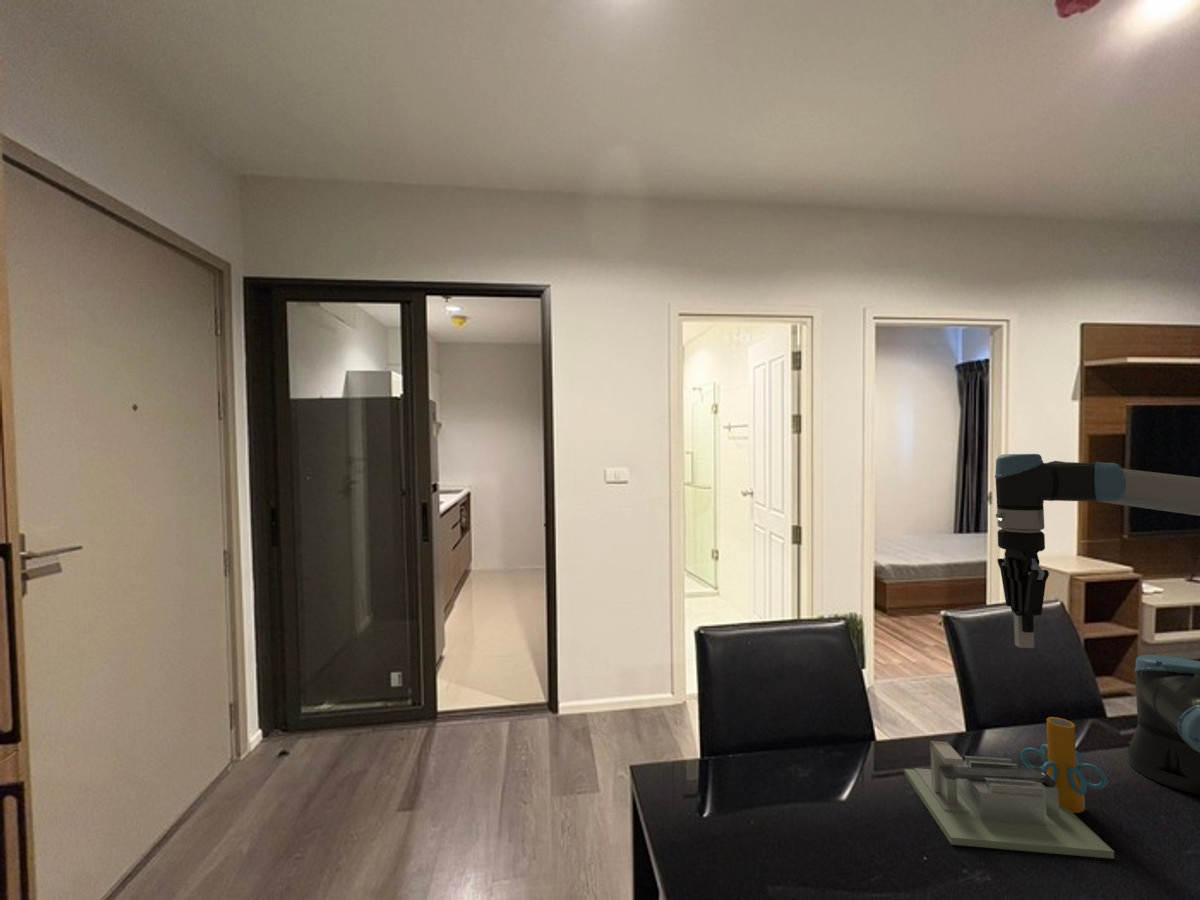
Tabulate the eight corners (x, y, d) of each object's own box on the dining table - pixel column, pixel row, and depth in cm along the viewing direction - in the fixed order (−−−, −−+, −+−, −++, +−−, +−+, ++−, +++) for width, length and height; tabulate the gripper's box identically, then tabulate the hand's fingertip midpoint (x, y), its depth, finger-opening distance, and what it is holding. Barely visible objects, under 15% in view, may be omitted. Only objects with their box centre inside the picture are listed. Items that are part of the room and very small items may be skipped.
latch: (948, 788, 103) (947, 741, 103) (964, 808, 97) (962, 759, 97) (931, 787, 103) (930, 740, 103) (946, 807, 97) (944, 758, 97)
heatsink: (1034, 792, 102) (1033, 759, 102) (1071, 828, 92) (1069, 791, 92) (932, 784, 105) (931, 752, 105) (957, 819, 95) (956, 783, 95)
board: (1035, 783, 106) (1035, 776, 106) (1114, 858, 86) (1113, 849, 86) (904, 774, 110) (904, 767, 110) (951, 844, 90) (951, 835, 90)
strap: (1041, 773, 99) (1040, 767, 99) (1055, 786, 95) (1055, 779, 95) (937, 769, 102) (937, 762, 102) (947, 781, 98) (946, 775, 98)
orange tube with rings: (1121, 828, 93) (1118, 741, 93) (1053, 822, 95) (1050, 737, 95) (1072, 786, 105) (1070, 708, 105) (1013, 781, 107) (1010, 705, 107)
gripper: (982, 525, 116) (986, 635, 116) (1019, 534, 103) (1023, 657, 103) (1021, 525, 115) (1025, 636, 114) (1063, 534, 102) (1067, 659, 101)
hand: (1024, 646), depth 108 cm, fingers closed
